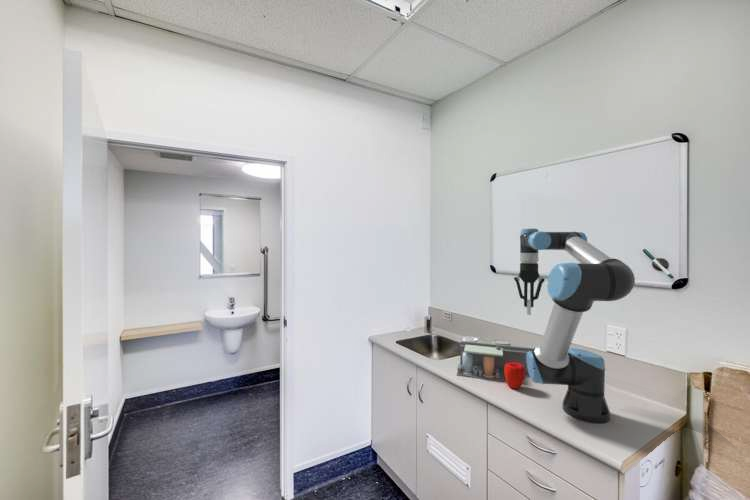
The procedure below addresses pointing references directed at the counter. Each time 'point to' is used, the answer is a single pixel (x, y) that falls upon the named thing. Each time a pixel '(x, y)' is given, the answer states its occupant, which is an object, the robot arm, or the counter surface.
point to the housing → (474, 362)
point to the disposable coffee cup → (501, 342)
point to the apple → (514, 374)
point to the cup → (471, 339)
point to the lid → (484, 350)
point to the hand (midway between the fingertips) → (528, 314)
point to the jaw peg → (488, 365)
